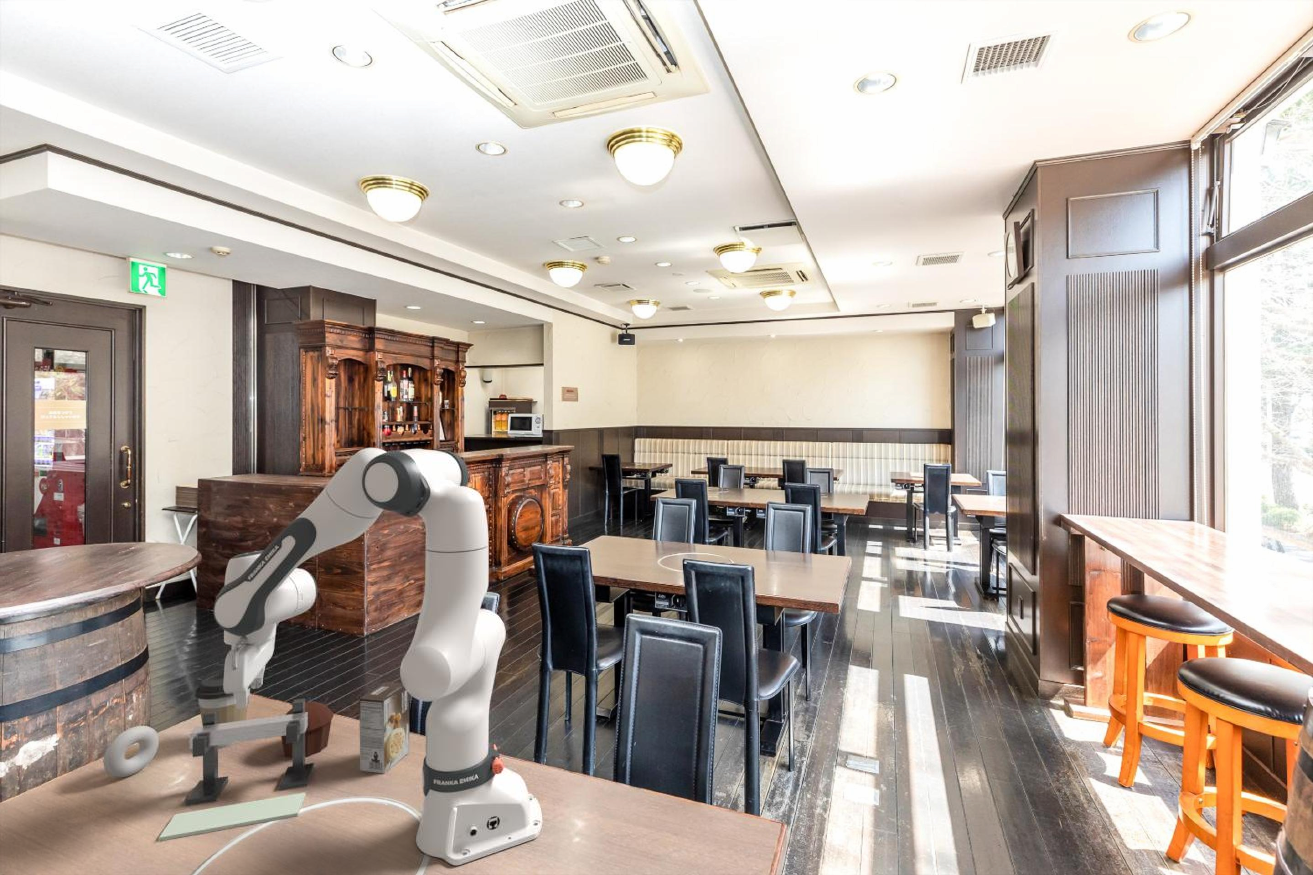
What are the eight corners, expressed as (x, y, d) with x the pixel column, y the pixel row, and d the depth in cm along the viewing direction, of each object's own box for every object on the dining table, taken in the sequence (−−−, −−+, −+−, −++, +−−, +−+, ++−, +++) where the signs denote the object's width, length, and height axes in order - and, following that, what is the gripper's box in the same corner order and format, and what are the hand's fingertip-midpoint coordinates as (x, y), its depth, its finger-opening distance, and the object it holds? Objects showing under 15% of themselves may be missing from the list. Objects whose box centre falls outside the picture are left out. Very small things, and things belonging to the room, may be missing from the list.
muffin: (325, 758, 136) (325, 714, 136) (270, 765, 133) (269, 720, 133) (338, 732, 148) (338, 692, 148) (287, 738, 145) (287, 697, 145)
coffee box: (385, 749, 140) (385, 680, 140) (410, 752, 139) (410, 682, 139) (358, 770, 131) (358, 697, 131) (384, 774, 130) (384, 700, 130)
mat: (305, 794, 122) (305, 792, 122) (297, 815, 116) (297, 812, 116) (175, 817, 115) (175, 814, 115) (158, 840, 109) (158, 837, 109)
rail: (307, 725, 129) (307, 712, 129) (304, 732, 126) (304, 718, 126) (195, 741, 122) (195, 726, 122) (189, 748, 119) (189, 733, 119)
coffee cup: (250, 724, 152) (250, 665, 152) (256, 742, 143) (256, 679, 143) (194, 738, 145) (193, 676, 144) (196, 758, 136) (195, 692, 136)
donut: (109, 788, 125) (109, 740, 124) (99, 785, 126) (98, 737, 126) (163, 763, 134) (162, 718, 134) (152, 760, 135) (152, 716, 135)
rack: (313, 768, 132) (313, 695, 132) (305, 788, 125) (305, 711, 124) (199, 786, 125) (199, 709, 125) (183, 809, 118) (183, 727, 118)
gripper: (252, 645, 115) (252, 717, 115) (281, 613, 134) (280, 675, 134) (213, 648, 113) (213, 722, 113) (247, 616, 132) (247, 678, 132)
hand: (249, 696), depth 124 cm, fingers open, 8 cm apart
